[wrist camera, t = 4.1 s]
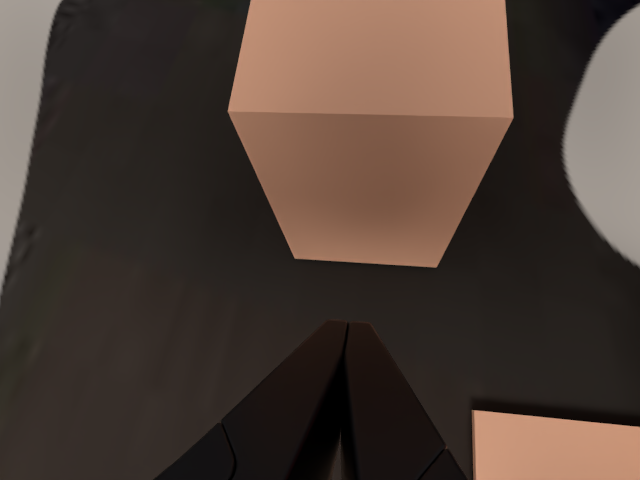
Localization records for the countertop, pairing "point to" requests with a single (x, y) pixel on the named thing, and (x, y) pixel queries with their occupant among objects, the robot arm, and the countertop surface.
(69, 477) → the countertop surface
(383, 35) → the terracotta block
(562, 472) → the colour card
